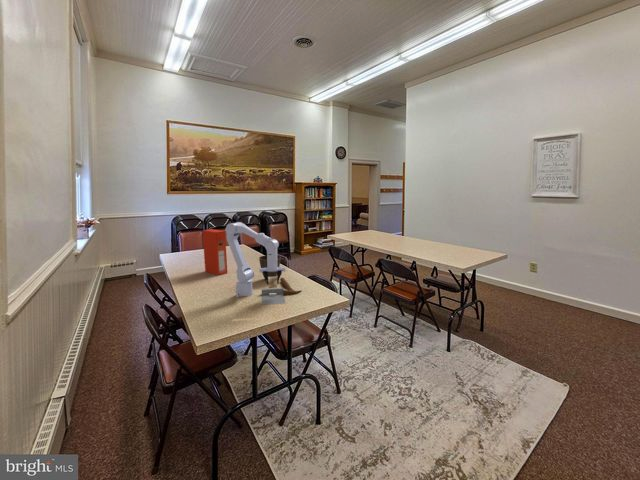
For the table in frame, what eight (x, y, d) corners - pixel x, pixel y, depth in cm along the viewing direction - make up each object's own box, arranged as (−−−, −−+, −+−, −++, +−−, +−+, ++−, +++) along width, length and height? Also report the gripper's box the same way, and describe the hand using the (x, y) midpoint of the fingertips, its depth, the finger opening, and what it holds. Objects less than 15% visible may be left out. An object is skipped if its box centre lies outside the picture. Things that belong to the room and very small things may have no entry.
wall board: (261, 306, 167) (261, 299, 166) (261, 295, 184) (261, 288, 184) (285, 305, 169) (285, 298, 169) (283, 293, 187) (283, 287, 186)
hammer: (275, 281, 210) (283, 295, 181) (276, 277, 209) (284, 290, 181) (292, 282, 213) (302, 296, 185) (292, 278, 213) (303, 291, 185)
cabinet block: (268, 288, 173) (268, 280, 172) (268, 285, 179) (268, 276, 178) (277, 288, 173) (277, 279, 173) (276, 284, 180) (276, 276, 179)
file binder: (217, 275, 224) (215, 232, 219) (204, 271, 235) (202, 230, 229) (227, 273, 230) (225, 231, 225) (214, 269, 241) (212, 229, 235)
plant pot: (283, 276, 222) (282, 255, 219) (278, 283, 208) (277, 260, 205) (263, 276, 224) (262, 254, 221) (256, 282, 209) (256, 259, 206)
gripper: (259, 262, 169) (259, 286, 171) (285, 262, 171) (285, 285, 174) (259, 259, 176) (259, 282, 178) (284, 259, 178) (285, 281, 181)
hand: (272, 283), depth 176 cm, fingers closed on cabinet block, 5 cm apart
